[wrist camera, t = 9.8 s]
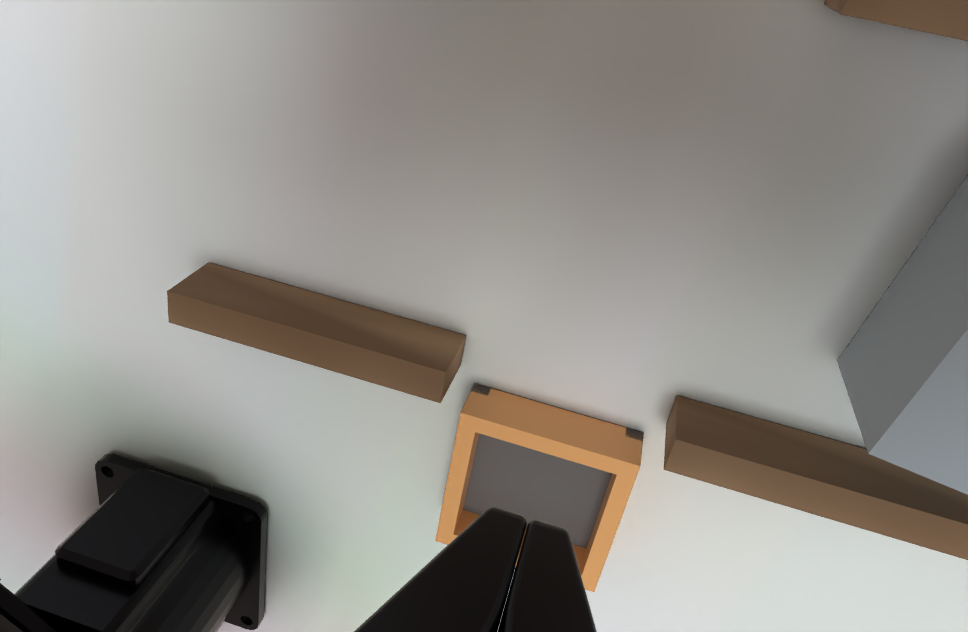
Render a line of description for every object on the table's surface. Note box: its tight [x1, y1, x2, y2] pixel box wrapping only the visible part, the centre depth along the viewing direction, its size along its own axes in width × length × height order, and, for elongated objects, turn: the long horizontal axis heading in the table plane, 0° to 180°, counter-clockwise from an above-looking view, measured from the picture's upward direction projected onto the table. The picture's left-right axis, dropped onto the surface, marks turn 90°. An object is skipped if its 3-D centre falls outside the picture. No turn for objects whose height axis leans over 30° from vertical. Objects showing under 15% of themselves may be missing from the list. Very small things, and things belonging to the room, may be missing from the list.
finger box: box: [167, 0, 968, 560], centre depth 16 cm, size 13×27×3 cm, turn 80°
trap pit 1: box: [435, 384, 644, 592], centre depth 22 cm, size 5×5×2 cm
